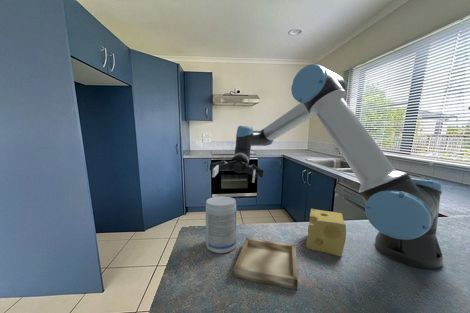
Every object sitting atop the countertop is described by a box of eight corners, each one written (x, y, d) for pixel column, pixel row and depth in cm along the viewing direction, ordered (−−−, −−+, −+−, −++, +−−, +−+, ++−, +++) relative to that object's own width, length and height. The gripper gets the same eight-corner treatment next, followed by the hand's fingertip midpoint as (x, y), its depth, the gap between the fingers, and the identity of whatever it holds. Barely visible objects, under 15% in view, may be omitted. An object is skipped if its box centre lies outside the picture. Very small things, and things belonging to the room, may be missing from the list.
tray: (294, 252, 58) (295, 244, 57) (297, 290, 43) (297, 279, 43) (246, 245, 61) (246, 237, 61) (233, 277, 47) (234, 267, 47)
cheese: (306, 249, 60) (307, 218, 59) (308, 234, 69) (310, 207, 69) (344, 258, 55) (346, 225, 54) (341, 240, 65) (343, 212, 64)
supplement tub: (242, 248, 60) (242, 202, 58) (214, 258, 54) (214, 208, 53) (226, 235, 68) (226, 194, 66) (200, 243, 62) (200, 198, 61)
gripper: (267, 174, 84) (269, 191, 64) (211, 167, 87) (196, 181, 66) (269, 157, 83) (272, 170, 62) (212, 150, 86) (197, 160, 65)
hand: (233, 176), depth 64 cm, fingers open, 13 cm apart
